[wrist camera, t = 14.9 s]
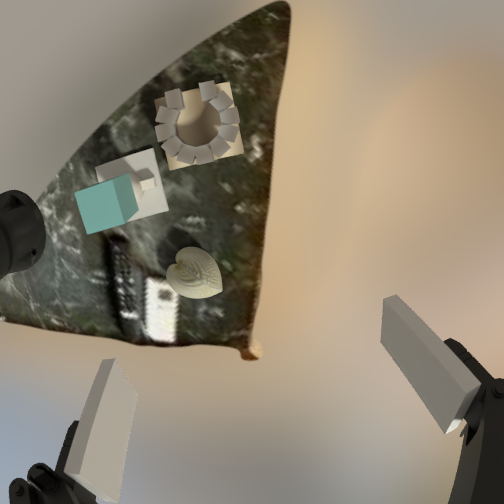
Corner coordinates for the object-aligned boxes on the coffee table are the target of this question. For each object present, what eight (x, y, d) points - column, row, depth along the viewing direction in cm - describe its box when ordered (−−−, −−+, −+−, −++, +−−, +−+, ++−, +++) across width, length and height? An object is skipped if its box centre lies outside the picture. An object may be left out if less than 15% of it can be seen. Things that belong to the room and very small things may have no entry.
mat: (112, 225, 44) (111, 226, 43) (96, 166, 40) (94, 167, 40) (169, 209, 44) (168, 210, 44) (153, 147, 41) (152, 148, 40)
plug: (120, 208, 43) (87, 234, 31) (111, 177, 41) (74, 192, 29) (160, 197, 43) (139, 219, 31) (152, 164, 41) (126, 174, 29)
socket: (171, 169, 42) (165, 173, 37) (156, 101, 38) (148, 96, 33) (242, 152, 43) (246, 153, 37) (228, 84, 38) (230, 76, 33)
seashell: (182, 233, 44) (225, 261, 42) (198, 248, 52) (235, 272, 50) (152, 278, 43) (193, 308, 41) (173, 286, 51) (208, 312, 49)
